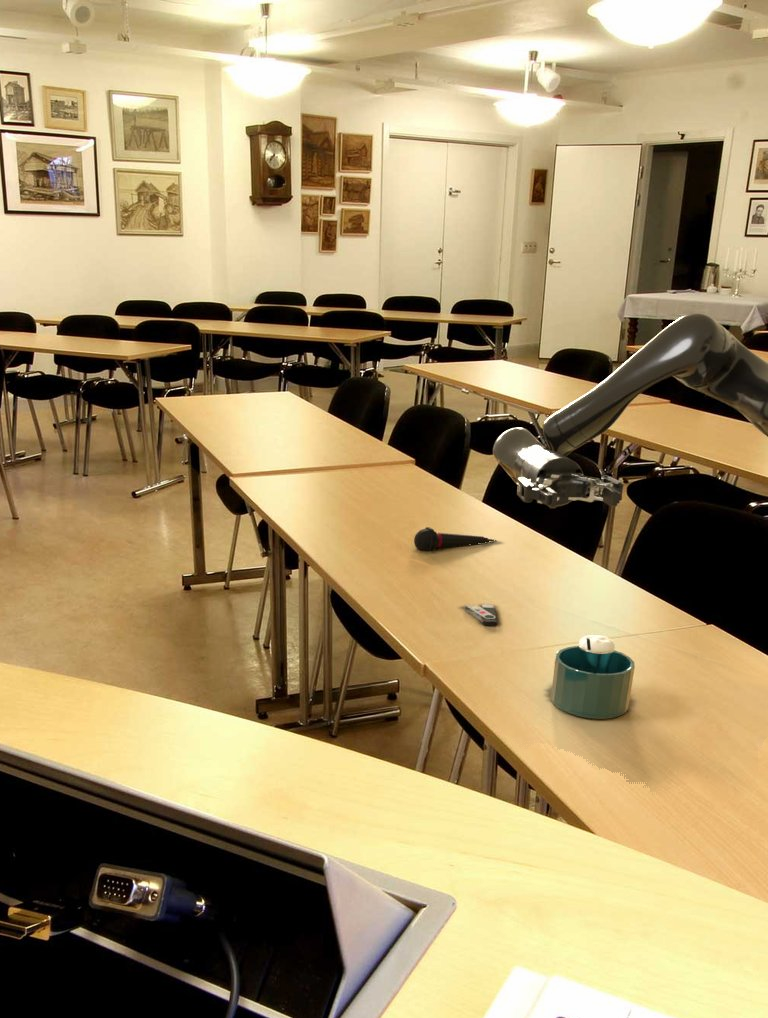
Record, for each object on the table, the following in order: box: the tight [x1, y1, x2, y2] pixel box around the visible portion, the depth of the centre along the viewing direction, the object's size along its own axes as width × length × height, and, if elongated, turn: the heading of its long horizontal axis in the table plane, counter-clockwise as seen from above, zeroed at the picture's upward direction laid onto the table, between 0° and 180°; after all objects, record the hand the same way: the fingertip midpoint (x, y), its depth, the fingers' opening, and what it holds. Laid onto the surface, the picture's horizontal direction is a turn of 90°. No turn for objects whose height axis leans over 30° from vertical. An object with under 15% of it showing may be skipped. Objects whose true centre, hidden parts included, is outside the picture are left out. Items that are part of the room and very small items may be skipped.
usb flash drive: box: [463, 603, 498, 627], centre depth 159 cm, size 9×5×1 cm, turn 168°
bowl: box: [550, 645, 636, 720], centre depth 126 cm, size 10×10×6 cm
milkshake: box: [578, 634, 616, 674], centre depth 126 cm, size 4×5×10 cm
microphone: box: [413, 526, 495, 553], centre depth 197 cm, size 6×6×20 cm
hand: (585, 500), depth 128 cm, fingers open, 8 cm apart
